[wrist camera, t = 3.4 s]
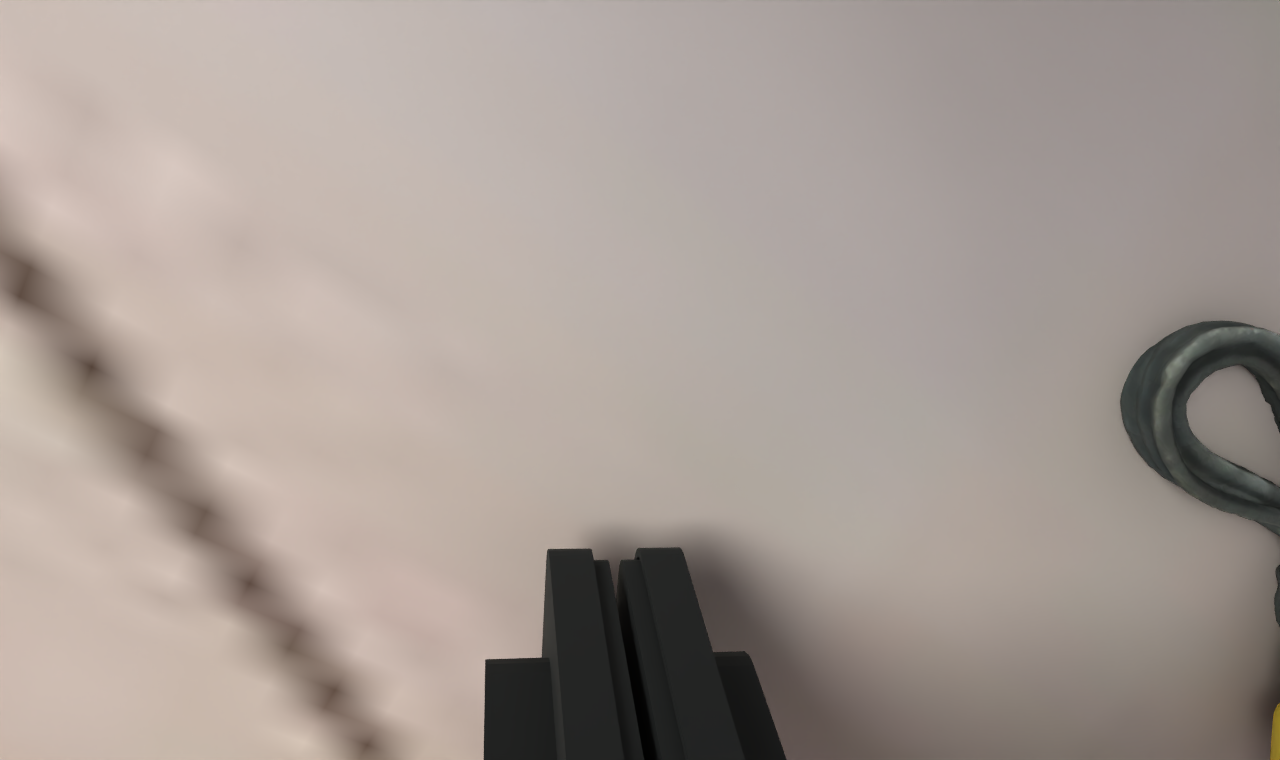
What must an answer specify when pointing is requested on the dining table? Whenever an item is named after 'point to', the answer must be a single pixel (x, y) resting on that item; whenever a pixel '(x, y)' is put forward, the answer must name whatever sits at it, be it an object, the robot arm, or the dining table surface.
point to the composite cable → (1167, 438)
